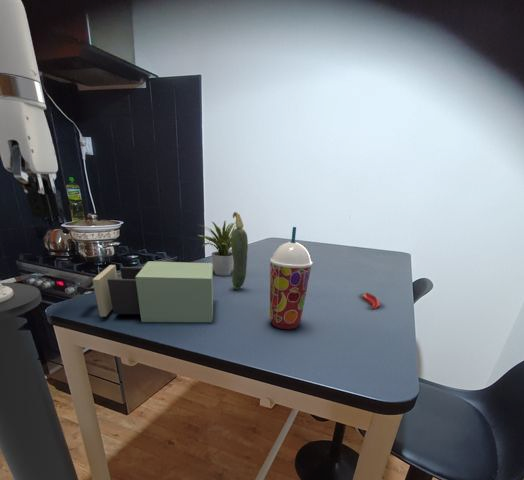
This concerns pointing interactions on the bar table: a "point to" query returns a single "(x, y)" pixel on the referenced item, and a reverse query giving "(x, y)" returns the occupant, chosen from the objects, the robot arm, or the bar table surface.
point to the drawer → (114, 290)
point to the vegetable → (239, 252)
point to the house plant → (221, 249)
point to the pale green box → (175, 292)
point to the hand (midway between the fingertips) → (46, 215)
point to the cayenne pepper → (371, 300)
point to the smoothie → (288, 283)
